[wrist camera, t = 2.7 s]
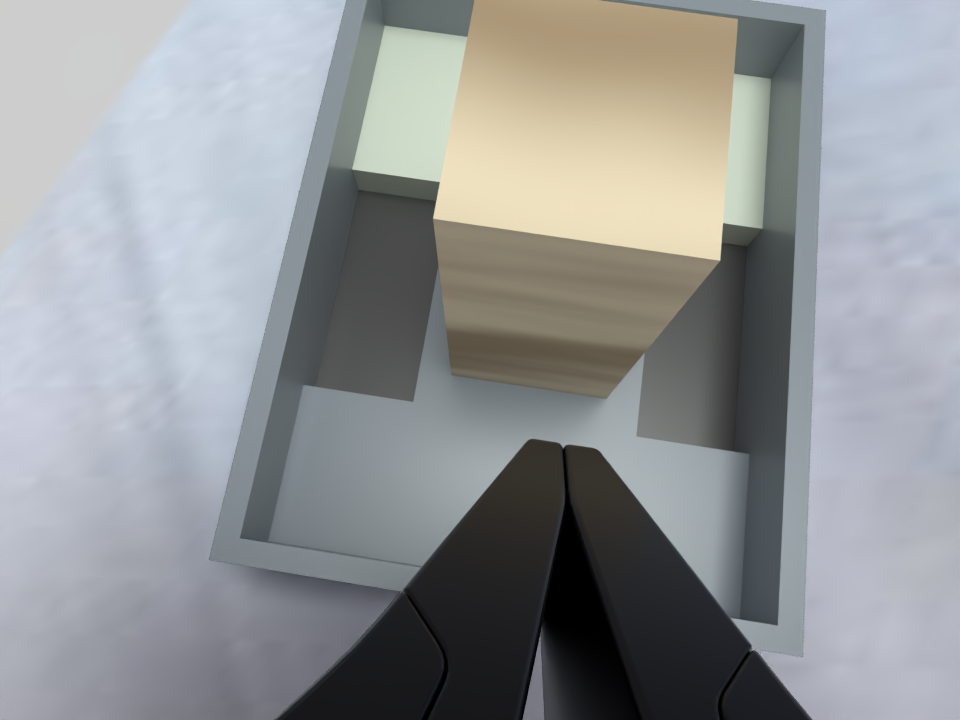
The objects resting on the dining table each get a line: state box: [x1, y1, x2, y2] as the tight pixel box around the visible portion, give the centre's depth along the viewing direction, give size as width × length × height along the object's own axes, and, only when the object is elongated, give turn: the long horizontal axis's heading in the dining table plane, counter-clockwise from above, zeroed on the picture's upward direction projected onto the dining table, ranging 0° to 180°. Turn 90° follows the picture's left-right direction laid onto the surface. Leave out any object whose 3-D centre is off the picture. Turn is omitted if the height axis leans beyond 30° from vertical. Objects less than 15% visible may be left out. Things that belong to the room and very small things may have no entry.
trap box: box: [209, 0, 826, 657], centre depth 21 cm, size 18×14×4 cm
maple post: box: [433, 0, 738, 399], centre depth 17 cm, size 4×4×10 cm
